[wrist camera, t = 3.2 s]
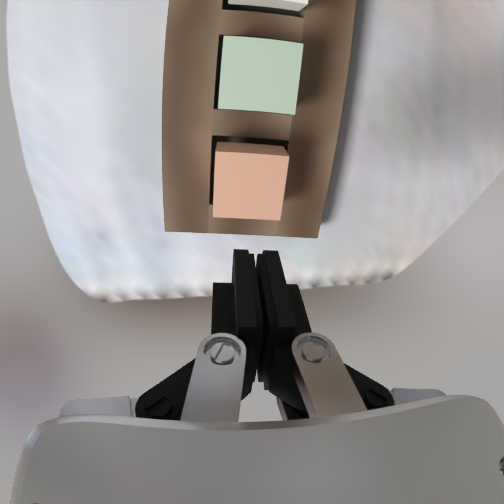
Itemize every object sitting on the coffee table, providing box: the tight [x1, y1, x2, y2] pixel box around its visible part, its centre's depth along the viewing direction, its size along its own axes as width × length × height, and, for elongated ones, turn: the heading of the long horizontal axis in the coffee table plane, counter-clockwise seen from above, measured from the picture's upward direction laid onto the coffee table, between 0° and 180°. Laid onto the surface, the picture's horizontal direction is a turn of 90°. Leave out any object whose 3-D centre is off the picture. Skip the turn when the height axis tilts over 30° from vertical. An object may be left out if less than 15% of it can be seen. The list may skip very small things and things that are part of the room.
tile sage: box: [218, 36, 303, 115], centre depth 16 cm, size 4×4×2 cm
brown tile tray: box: [162, 0, 356, 238], centre depth 18 cm, size 12×24×2 cm, turn 175°
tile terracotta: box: [213, 142, 289, 221], centre depth 20 cm, size 4×4×2 cm
